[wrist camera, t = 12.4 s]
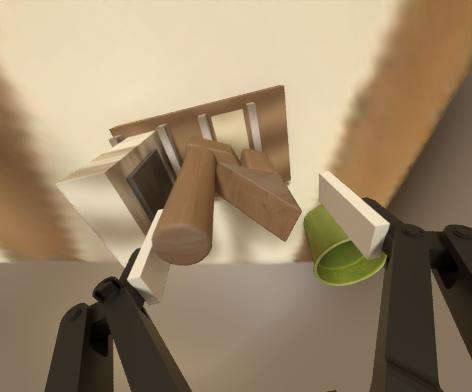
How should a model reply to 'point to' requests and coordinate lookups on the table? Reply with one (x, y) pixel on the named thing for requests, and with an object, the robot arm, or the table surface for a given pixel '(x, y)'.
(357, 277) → the plant pot
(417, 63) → the table surface
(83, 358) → the robot arm
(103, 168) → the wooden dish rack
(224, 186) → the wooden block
